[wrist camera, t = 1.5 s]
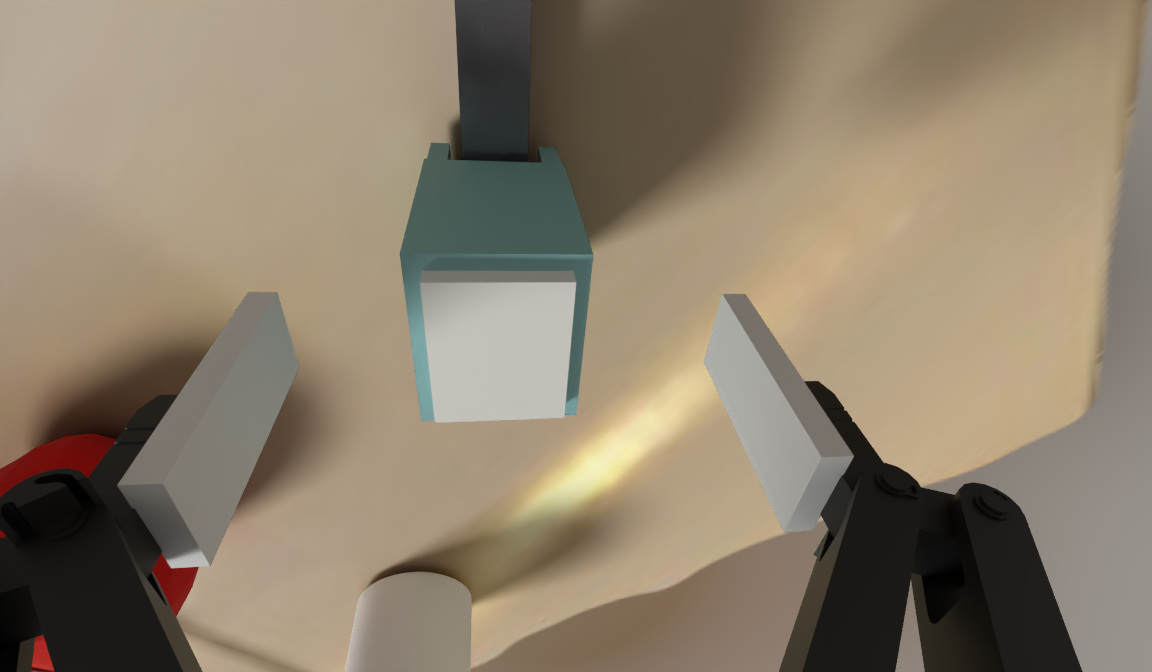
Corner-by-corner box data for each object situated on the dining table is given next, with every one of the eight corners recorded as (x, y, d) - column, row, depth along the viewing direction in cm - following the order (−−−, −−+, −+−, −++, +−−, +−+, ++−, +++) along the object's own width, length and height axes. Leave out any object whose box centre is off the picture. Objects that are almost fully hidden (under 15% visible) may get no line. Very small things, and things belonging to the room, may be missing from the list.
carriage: (439, 278, 24) (419, 434, 17) (428, 142, 21) (396, 265, 13) (551, 278, 25) (578, 428, 18) (558, 147, 22) (596, 265, 14)
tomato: (215, 407, 28) (104, 606, 20) (240, 550, 35) (166, 739, 27) (-59, 386, 25) (-318, 607, 17) (29, 546, 32) (-125, 755, 24)
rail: (470, 280, 26) (468, 303, 24) (446, -241, 15) (442, -260, 14) (521, 280, 26) (524, 303, 24) (532, -229, 16) (537, -246, 14)
